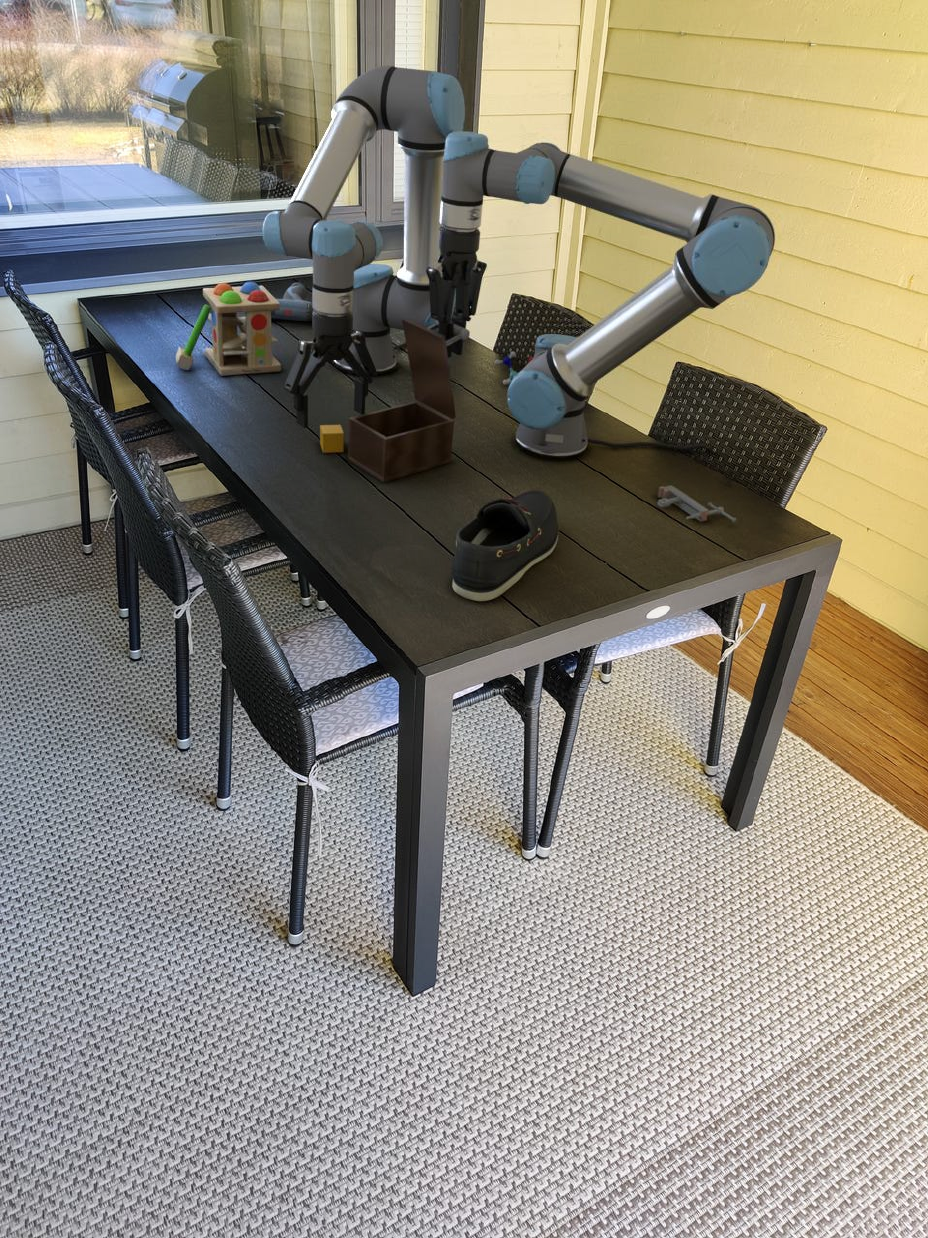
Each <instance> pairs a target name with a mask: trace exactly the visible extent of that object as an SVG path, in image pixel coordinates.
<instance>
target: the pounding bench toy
mask: <svg viewBox="0 0 928 1238" xmlns="http://www.w3.org/2000/svg"><path fill="white" fill-rule="evenodd" d="M202 296H203V298H204V299H205V300H206V301H207V302H208V304H209V305H208V304H204V305H203V307H202V309H201V312H200V313H199V316H198V318H197V320H196V322H195V324H194V327H193V329H192V331H191V332H190V333H191V334H190V336H189V338H188V340H187V343H186V344H185V347H184V348H182V347H180V346H179V347H178V349H177V351H176V354H175V357H174V358H175V362H176V365H177V366H178V368H179V369H182V370H185V371H189V370H190V369H191V367H192V365H193V363H194V356H193V351H194V348H195V347H196V345H197V342H198V340H199V337H200V336H201V333H202V332H203V329H204V326H205V325H206V322H207V320H209V321H210V322H211V336H212V337H211V338H212V339H211V340H212V348H205V349H204V352H205V353H204V355H205V357H206V359H208V361H209V363H210V364H211V365H212V366H213V367H214V369H215V370H216V371H217V372H218V374H219V375H220V376H222V377H223V376H234V375H235V376H236V375H246V374H247V375H250V374H262V373H275V372H281V370H282V364H281V363H280V362H279V360H278V359H277V358H276V357H275V356H274V355H273V348H272V347H273V345H272V344H276V343H278V342H279V341H278V339H277V338H276V337H275V336H274V334H272V318H271V310H280V303H279V302H278V301H277V300H276V299H277V298H276V297H274V296H273V295H272V294H271V293H270V292H269V290H268V289H267V288H266V287H264V285H259V284H257V283H256V282H255V281H247V282H245V283H244V284H243V285H242V286H232V285H230V284H229V283H226V282H221V283H218V284H217V285H216V286H215V287H204V288H203V289H202ZM238 313H244V314H245V315H244V316H238ZM238 329H239V331H240V333H239V334H238Z"/></svg>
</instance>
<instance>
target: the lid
mask: <svg viewBox="0 0 928 1238" xmlns="http://www.w3.org/2000/svg"><path fill="white" fill-rule="evenodd" d="M402 322H403V328H404V330H403V333H404V339H405V343H406V346H405V347H406V352H407V357H408V364H409V370H410V376H411V381H412V388H413V393H414V399H415V401H418V402H420V403H422V404H423V405H425V406H427V407H429V408H431V409H433V410H435V411H436V412H438V413H440V414H442V415H444V416H446V417H448V418H449V419H451V420H455V419H457V416H456V415H457V414H456V408H455V400H454V393H453V387H452V377H451V370H450V364H449V363H450V362H449V358H448V355H447V348H446V347H447V346H448V345H450V344H452V343H454V342H456V341H458V340H460V339H462V340H463V341H467V340H468V339H469V338H470V334H471V333H470V330H469V329H467V328H466V329H465V328H463V327H461V326H458V325H456V324H454V327H453V335H454V336H455V337H453V338H451V339H449V340H447V341H446V340H445V336H444V335H442V334H440V333H437V332H435V331H433V330H434V329H436V328H439V321H437V320H436V322H435V324H434V325H432V326H430V327H428V328H427V327H424V326H422V325H420V324H418V323H416V322H414V321H412V320H409V319H407V318H404V319H402ZM451 323H452V322H451Z"/></svg>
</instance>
